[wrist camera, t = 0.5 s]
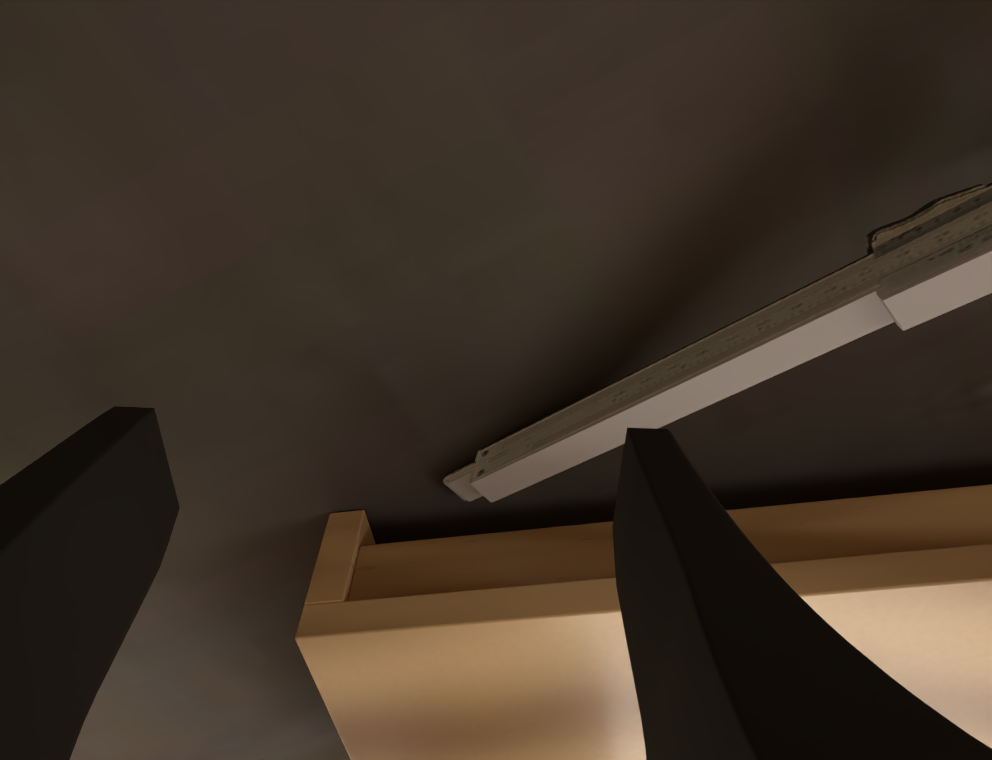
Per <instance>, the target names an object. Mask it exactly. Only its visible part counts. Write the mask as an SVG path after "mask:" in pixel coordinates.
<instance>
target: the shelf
mask: <svg viewBox="0 0 992 760" xmlns="http://www.w3.org/2000/svg"><path fill="white" fill-rule="evenodd" d="M726 511H727V513H728V514H729V515H730V517H731V518H732V519H733V520H734V522H735V523H736V524H737V526H738V527H739V528H740V529H741V531H742V532H743V533H744V534H745V536H746V537H747V538H748V539H749V540H750V542H751V543H752V544H753V545H754V546H755V548H756V549H757V550H758V551H759V552H760V553H761V555H762V556H763V557H764V558H765V559H766V560H767V561H768V563H769V564H770V565H771V566H772V567H773V568H774V569H775V571H776V572H777V573H778V574H779V575H780V576H781V577H782V578H783V579H784V580H785V581H786V582H787V584H788V585H789V586H790V587H791V588H792V589H793V590H794V591H795V592H796V593H797V594H798V595H799V596H800V597H801V598H802V599H803V600H804V601H805V602H806V603H807V604H808V605H809V606H810V607H811V608H812V609H813V610H814V611H815V612H816V613H817V614H818V615H819V616H821V617H822V618H823V619H824V620H825V621H826V622H827V623H828V624H829V625H830V626H831V627H832V628H833V629H835V630H836V631H837V632H838V633H839V634H840V635H841V636H842V637H844V638H845V639H846V640H847V641H848V642H849V643H850V644H852V645H853V646H854V647H855V648H856V649H858V650H859V651H860V652H861V653H862V654H864V655H865V656H866V657H867V658H869V659H870V660H871V661H872V662H873V663H875V664H876V665H877V666H878V667H879V668H881V669H882V670H883V671H884V672H885V673H887V674H888V675H889V676H890V677H892V678H893V679H894V680H895V681H897V682H898V683H899V684H901V685H902V686H903V687H905V688H906V689H907V690H908V691H910V692H911V693H912V694H914V695H915V696H916V697H918V698H919V699H920V700H922V701H923V702H925V703H926V704H927V705H929V706H930V707H932V708H933V709H934V710H936V711H937V712H938V713H940V714H941V715H943V716H944V717H945V718H947V719H948V720H950V721H951V722H952V723H954V724H955V725H957V726H958V727H959V728H961V729H962V730H964V731H965V732H967V733H968V734H970V735H971V736H973V737H974V738H976V739H977V740H979V741H980V742H982V743H984V744H985V745H987V746H988V747H990V748H991V749H992V484H989V485H979V486H969V487H959V488H948V489H938V490H928V491H918V492H907V493H897V494H887V495H877V496H866V497H856V498H846V499H836V500H825V501H815V502H805V503H794V504H784V505H774V506H764V507H753V508H743V509H733V510H726ZM612 525H613V521H610V522H599V523H589V524H579V525H569V526H558V527H548V528H538V529H528V530H517V531H507V532H497V533H487V534H476V535H466V536H456V537H446V538H435V539H425V540H415V541H404V542H394V543H384V544H376V543H375V540H374V537H373V534H372V531H371V528H370V525H369V522H368V520H367V517H366V514H365V511H364V510H358V511H348V512H339V513H331V514H329V518H328V522H327V525H326V529H325V532H324V536H323V539H322V543H321V546H320V550H319V554H318V557H317V561H316V564H315V568H314V571H313V575H312V578H311V582H310V586H309V589H308V593H307V596H306V600H305V606H304V607H303V611H302V614H301V618H300V621H299V625H298V628H297V632H296V636H295V640H296V642H297V644H298V647H299V649H300V651H301V653H302V655H303V657H304V660H305V662H306V664H307V666H308V668H309V670H310V673H311V675H312V677H313V679H314V681H315V683H316V686H317V688H318V690H319V692H320V694H321V696H322V699H323V701H324V703H325V705H326V707H327V709H328V712H329V714H330V716H331V718H332V720H333V722H334V725H335V727H336V729H337V731H338V733H339V735H340V738H341V740H342V742H343V744H344V746H345V748H346V751H347V753H348V755H349V757H350V759H351V760H646V750H645V742H644V736H643V729H642V722H641V716H640V710H639V705H638V700H637V694H636V689H635V684H634V679H633V673H632V668H631V663H630V657H629V652H628V647H627V642H626V636H625V631H624V626H623V620H622V615H621V609H620V604H619V598H618V593H617V587H616V576H615V562H614V545H613V528H612Z"/></svg>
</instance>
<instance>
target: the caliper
mask: <svg viewBox="0 0 992 760" xmlns="http://www.w3.org/2000/svg"><path fill="white" fill-rule="evenodd" d="M865 239H866V245H867V252H868V255H866V256H864V257H862V258H860V259H858V260H856V261H854V262H852V263H850V264H848V265H846V266H844V267H842V268H840V269H838V270H836V271H834V272H832V273H830V274H828V275H826V276H824V277H822V278H820V279H818V280H816V281H814V282H812V283H810V284H808V285H806V286H804V287H802V288H800V289H798V290H797V291H795V292H793V293H791V294H789V295H787V296H785V297H783V298H781V299H779V300H777V301H775V302H773V303H771V304H769V305H767V306H765V307H763V308H761V309H759V310H757V311H755V312H753V313H751V314H749V315H747V316H745V317H743V318H741V319H739V320H737V321H735V322H733V323H731V324H729V325H727V326H725V327H723V328H721V329H719V330H717V331H715V332H713V333H711V334H709V335H707V336H705V337H703V338H701V339H699V340H697V341H695V342H693V343H691V344H689V345H687V346H685V347H683V348H681V349H679V350H677V351H675V352H673V353H672V354H670V355H668V356H666V357H664V358H662V359H660V360H658V361H656V362H654V363H652V364H650V365H648V366H645V367H643V368H641V369H639V370H637V371H635V372H633V373H631V374H629V375H627V376H625V377H623V378H621V379H619V380H617V381H615V382H613V383H611V384H609V385H607V386H605V387H603V388H601V389H599V390H597V391H595V392H593V393H591V394H589V395H587V396H585V397H583V398H581V399H579V400H577V401H575V402H573V403H571V404H569V405H567V406H565V407H563V408H561V409H559V410H557V411H555V412H553V413H551V414H549V415H547V416H545V417H543V418H541V419H539V420H537V421H535V422H533V423H531V424H529V425H527V426H525V427H523V428H521V429H519V430H517V431H515V432H513V433H511V434H509V435H507V436H505V437H503V438H501V439H499V440H497V441H495V442H493V443H490V444H488V445H486V446H484V447H483V448H481V449H480V450H478V453H477V456H476V459H475V462H474V463H472V464H470V465H468V466H465V467H463V468H461V469H459V470H457V471H455V472H453V473H451V474H449V475H448V476H446V477H445V478H444V479H443V483H444V484H445V485H446V486H448V487H449V488H450V489H451V490H452V491H453V492H455V493H456V494H457V495H458V496H459V497H460V498H462V499H463V500H464V501H465V500H467V501H469V502H470V501H472V500H475V499H477V498H479V497H481V496H484V497H485V498H486V499H488V500H489V501H490V502H491V503H492V502H495V501H497V500H499V499H501V498H504V497H506V496H508V495H510V494H513V493H515V492H517V491H519V490H522V489H524V488H526V487H528V486H531V485H533V484H535V483H537V482H540V481H542V480H544V479H546V478H548V477H551V476H553V475H555V474H557V473H560V472H562V471H564V470H566V469H569V468H571V467H573V466H575V465H578V464H580V463H582V462H584V461H587V460H589V459H591V458H593V457H596V456H598V455H600V454H602V453H604V452H607V451H609V450H611V449H613V448H616V447H618V446H620V445H622V444H625V439H626V432H627V428H652V429H658V428H660V427H662V426H664V425H667V424H669V423H671V422H673V421H676V420H678V419H680V418H682V417H684V416H687V415H689V414H691V413H693V412H695V411H698V410H700V409H702V408H704V407H707V406H709V405H711V404H713V403H715V402H718V401H720V400H722V399H724V398H727V397H729V396H731V395H733V394H735V393H738V392H740V391H742V390H744V389H746V388H749V387H751V386H753V385H755V384H758V383H760V382H762V381H764V380H766V379H769V378H771V377H773V376H775V375H778V374H780V373H782V372H784V371H786V370H789V369H791V368H793V367H795V366H797V365H800V364H802V363H804V362H806V361H809V360H811V359H813V358H815V357H817V356H820V355H822V354H824V353H826V352H829V351H831V350H833V349H835V348H837V347H840V346H842V345H844V344H846V343H848V342H851V341H853V340H855V339H857V338H860V337H862V336H864V335H866V334H868V333H871V332H873V331H875V330H877V329H880V328H882V327H884V326H886V325H888V324H891V323H893V322H895V323H896V324H897V326H898V327H900V328H901V329H902V330H903V331H904V330H907V329H909V328H911V327H914V326H916V325H918V324H921V323H923V322H925V321H928V320H930V319H932V318H935V317H937V316H939V315H942V314H944V313H946V312H949V311H951V310H953V309H955V308H958V307H960V306H962V305H965V304H967V303H969V302H972V301H974V300H976V299H979V298H981V297H983V296H986V295H988V294H990V293H992V183H990V184H988V185H983V184H979V185H976V186H973V187H970V188H967V189H964V190H961V191H958V192H955V193H952V194H949V195H946V196H943V197H941V198H938V199H935V200H933V201H931V202H929V203H928V204H926V205H924V206H923V207H922V208H920V209H919V210H918V211H916V212H915V213H913V214H912V215H910V216H908V217H906V218H904V219H902V220H899V221H896V222H893V223H890V224H887V225H885V226H882V227H879V228H877V229H875V230H873V231H872V232H870V233H869V234H868V235H867V236H866V238H865Z"/></svg>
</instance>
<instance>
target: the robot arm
mask: <svg viewBox="0 0 992 760" xmlns="http://www.w3.org/2000/svg"><path fill="white" fill-rule="evenodd" d="M178 511H179V504H178V500H177V496H176V492H175V488H174V484H173V480H172V476H171V472H170V468H169V465H168V461H167V457H166V453H165V449H164V445H163V441H162V437H161V433H160V429H159V425H158V421H157V417H156V414H155V410H154V408H138V407H113V408H111V409H110V410H108V411H107V412H105V413H103V414H102V415H100V416H99V417H97V418H96V419H94V420H93V421H91V422H90V423H88V424H87V425H86V426H84V427H83V428H81V429H80V430H78V431H77V432H76V433H74V434H73V435H71V436H70V437H68V438H67V439H66V440H64V441H63V442H61V443H60V444H59V445H57V446H56V447H54V448H53V449H52V450H50V451H49V452H47V453H46V454H44V455H43V456H42V457H40V458H39V459H37V460H36V461H34V462H33V463H32V464H30V465H29V466H27V467H26V468H24V469H23V470H22V471H20V472H19V473H17V474H16V475H14V476H13V477H11V478H10V479H9V480H7V481H6V482H4V483H3V484H1V485H0V760H69V759H70V757H71V754H72V751H73V749H74V746H75V744H76V741H77V738H78V736H79V733H80V730H81V728H82V725H83V723H84V720H85V718H86V716H87V714H88V712H89V709H90V707H91V705H92V703H93V700H94V698H95V696H96V694H97V692H98V690H99V688H100V686H101V684H102V682H103V680H104V678H105V676H106V674H107V672H108V670H109V668H110V666H111V664H112V662H113V660H114V658H115V656H116V654H117V652H118V650H119V648H120V646H121V644H122V642H123V640H124V638H125V636H126V634H127V632H128V630H129V628H130V626H131V624H132V622H133V620H134V618H135V617H136V615H137V613H138V611H139V609H140V606H141V604H142V602H143V600H144V598H145V596H146V594H147V592H148V590H149V588H150V586H151V584H152V582H153V580H154V578H155V576H156V574H157V572H158V570H159V567H160V565H161V562H162V559H163V557H164V554H165V551H166V548H167V545H168V542H169V540H170V536H171V533H172V530H173V527H174V524H175V521H176V517H177V514H178ZM612 528H613V545H614V562H615V576H616V587H617V593H618V598H619V604H620V609H621V615H622V620H623V626H624V631H625V636H626V642H627V647H628V652H629V657H630V663H631V668H632V673H633V679H634V684H635V689H636V694H637V700H638V705H639V710H640V716H641V722H642V729H643V736H644V742H645V750H646V760H992V749H991V748H990V747H988V746H987V745H985V744H984V743H982V742H980V741H979V740H977V739H976V738H974V737H973V736H971V735H970V734H968V733H967V732H965V731H964V730H962V729H961V728H959V727H958V726H957V725H955V724H954V723H952V722H951V721H950V720H948V719H947V718H945V717H944V716H943V715H941V714H940V713H938V712H937V711H936V710H934V709H933V708H932V707H930V706H929V705H927V704H926V703H925V702H923V701H922V700H920V699H919V698H918V697H916V696H915V695H914V694H912V693H911V692H910V691H908V690H907V689H906V688H905V687H903V686H902V685H901V684H899V683H898V682H897V681H895V680H894V679H893V678H892V677H890V676H889V675H888V674H887V673H885V672H884V671H883V670H882V669H881V668H879V667H878V666H877V665H876V664H875V663H873V662H872V661H871V660H870V659H869V658H867V657H866V656H865V655H864V654H862V653H861V652H860V651H859V650H858V649H856V648H855V647H854V646H853V645H852V644H850V643H849V642H848V641H847V640H846V639H845V638H844V637H842V636H841V635H840V634H839V633H838V632H837V631H836V630H835V629H833V628H832V627H831V626H830V625H829V624H828V623H827V622H826V621H825V620H824V619H823V618H822V617H821V616H819V615H818V614H817V613H816V612H815V611H814V610H813V609H812V608H811V607H810V606H809V605H808V604H807V603H806V602H805V601H804V600H803V599H802V598H801V597H800V596H799V595H798V594H797V593H796V592H795V591H794V590H793V589H792V588H791V587H790V586H789V585H788V584H787V582H786V581H785V580H784V579H783V578H782V577H781V576H780V575H779V574H778V573H777V572H776V571H775V569H774V568H773V567H772V566H771V565H770V564H769V563H768V561H767V560H766V559H765V558H764V557H763V556H762V555H761V553H760V552H759V551H758V550H757V549H756V548H755V546H754V545H753V544H752V543H751V542H750V540H749V539H748V538H747V537H746V536H745V534H744V533H743V532H742V531H741V529H740V528H739V527H738V526H737V524H736V523H735V522H734V520H733V519H732V518H731V517H730V515H729V514H728V513H727V511H726V510H725V509H724V508H723V506H722V505H721V504H720V502H719V501H718V500H717V498H716V497H715V496H714V494H713V493H712V492H711V490H710V489H709V487H708V486H707V485H706V483H705V482H704V480H703V479H702V478H701V476H700V475H699V473H698V472H697V470H696V469H695V468H694V466H693V465H692V463H691V462H690V460H689V459H688V457H687V456H686V454H685V453H684V451H683V450H682V448H681V447H680V445H679V444H678V442H677V440H676V439H675V437H674V436H673V435H672V434H671V432H670V431H669V430H668V429H652V428H627V432H626V439H625V445H624V452H623V459H622V465H621V472H620V478H619V485H618V492H617V498H616V505H615V512H614V518H613V525H612Z"/></svg>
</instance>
